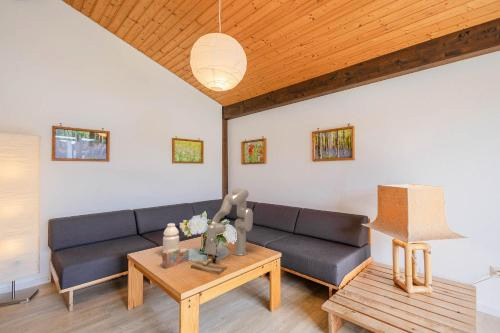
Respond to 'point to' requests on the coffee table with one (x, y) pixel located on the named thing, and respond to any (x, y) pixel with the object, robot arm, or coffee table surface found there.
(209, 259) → the gauge
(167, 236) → the bottle
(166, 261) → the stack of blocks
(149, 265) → the coffee table surface
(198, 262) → the board
